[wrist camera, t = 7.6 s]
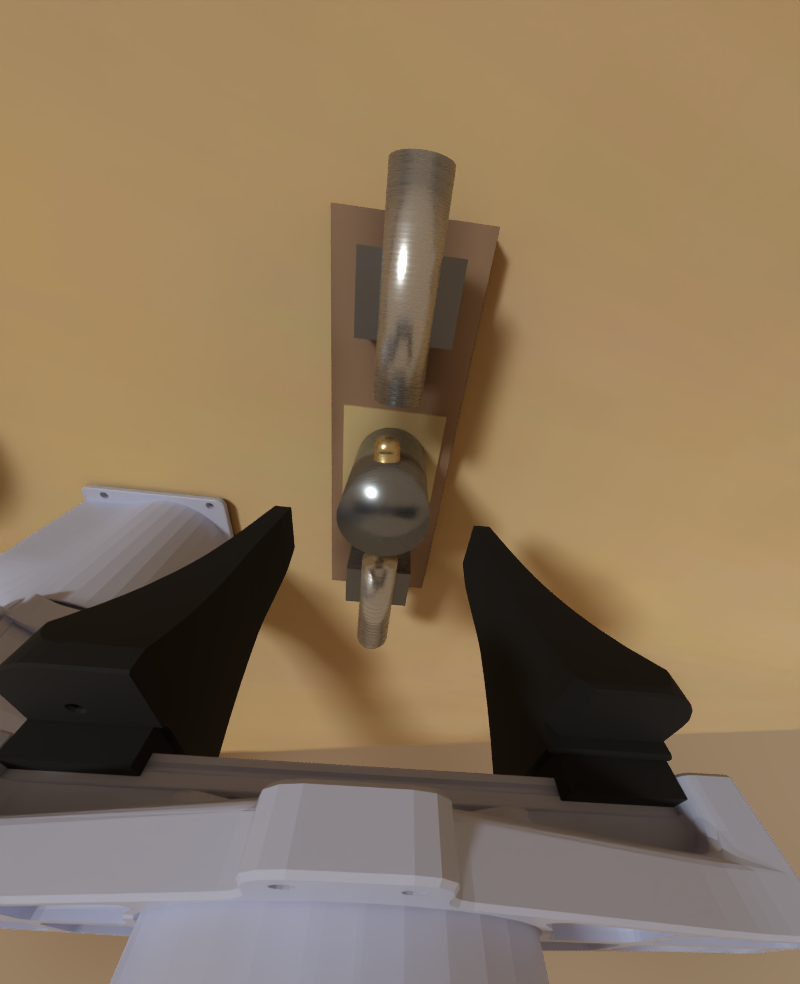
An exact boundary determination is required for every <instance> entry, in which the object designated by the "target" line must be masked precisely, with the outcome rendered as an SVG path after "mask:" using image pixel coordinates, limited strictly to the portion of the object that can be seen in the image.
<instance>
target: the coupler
mask: <svg viewBox="0 0 800 984" xmlns="http://www.w3.org/2000/svg"><path fill="white" fill-rule="evenodd" d="M336 516H337V524H338V527H339V530H340V532H341V534H342V535H343V537H344V538H345V539H346V540H347V541H348V542H349V543H350V544H351V545H352V546H354V547H355V548H357V549H359V550H361V551H363V552H365V553H368V554H372V555H377V556H394V555H399V554H402V553H405V552H408V551H410V550H412V549H413V548H415V547H416V546H417V545H419V544H420V543H421V542H422V540H423V539H424V538H425V536H426V534H427V532H428V529H429V525H430V515H429V502H428V489H427V476H426V464H425V454H424V450H423V448H422V446H421V444H420V442H419V441H418V440H417V439H416V438H415V437H414V436H413V435H412V434H410V433H408V432H407V431H404V430H402V429H398V428H382V429H379V430H376V431H374V432H372V433H371V434H369V435H368V436H367V437H366V438H365V439H364V440H363V441H362V443H361V445H360V447H359V449H358V452H357V455H356V458H355V461H354V463H353V466H352V469H351V472H350V475H349V477H348V480H347V483H346V486H345V489H344V492H343V494H342V497H341V500H340V503H339V506H338V509H337V514H336Z"/></svg>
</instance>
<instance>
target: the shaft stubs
mask: <svg viewBox="0 0 800 984" xmlns="http://www.w3.org/2000/svg"><path fill="white" fill-rule="evenodd" d="M455 171H456V164H455V163H454V161H453V160H451V159H450V158H448V157H446V156H444V155H442V154H439V153H436V152H432V151H428V150H421V149H401V150H397V151H394V152H392V153H391V154H390V155H389V159H388V174H387V190H386V205H385V220H384V235H383V248H382V247H375V246H367V245H360V244H356V277H355V310H354V338H359V339H367V340H375V341H377V342H376V357H375V373H374V388H373V400H374V401H376V402H378V403H380V404H383V405H386V406H391V407H398V408H413V407H417V406H420V405H421V401H422V395H423V388H424V381H425V374H426V367H427V361H428V354H429V347H431V348H439V349H447V350H452V346H453V340H454V335H455V329H456V324H457V319H458V313H459V308H460V302H461V297H462V291H463V286H464V280H465V275H466V269H467V264H468V259H462V258H454V257H447V256H443V253H444V246H445V239H446V232H447V225H448V219H449V212H450V205H451V198H452V192H453V185H454V178H455ZM410 575H411V563H410V551H408V552H405V553H402V554H399V555H394V556H377V555H372V554H368V553H365V552H363V551H361V550H359V549H357V548H355V547H354V546H352V547H351V551H350V556H349V560H348V565H347V574H346V601H357V602H359V617H358V632H357V637H358V640H359V642H360V644H361V645H363V646H364V647H366V648H370V649H374V648H378V647H380V646H381V645H383V644H384V642H385V641H386V638H387V631H388V624H389V618H390V611H391V605H403V606H405V603H406V597H407V592H408V586H409V581H410Z"/></svg>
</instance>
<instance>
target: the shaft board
mask: <svg viewBox="0 0 800 984" xmlns="http://www.w3.org/2000/svg"><path fill="white" fill-rule="evenodd" d="M384 220H385V210H378V209H371V208H365V207H358V206H351V205H344V204H337V203H331V354H332V580H341V581H346V574H347V565H348V560H349V556H350V551H351V547H352V545H351V544H350V543H349V542H348V541H347V540H346V539H345V538H344V537H343V535H342V534H341V532H340V530H339V527H338V524H337V516H336V514H337V509H338V506H339V503H340V500H341V497H342V494H343V492H344V489H345V486H346V483H347V480H348V477H349V475H350V472H351V469H352V466H353V463H354V461H355V458H356V455H357V452H358V449H359V447H360V445H361V443H362V441H363V440H364V439H365V438H366V437H367V436H368V435H369V434H371V433H372V432H374V431H376V430H379V429H382V428H398V429H402V430H404V431H407V432H408V433H410V434H412V435H413V436H414V437H415V438H416V439H417V440H418V441H419V442H420V444H421V446H422V448H423V450H424V454H425V464H426V476H427V489H428V502H429V515H430V525H429V529H428V532H427V534H426V536H425V538H424V539H423V540H422V542H421V543H420V544H419V545H417V546H416V547H415V548H413V549H412V550H410V563H411V575H410V581H409V586H408V587H417V588H422V585H423V580H424V576H425V571H426V566H427V562H428V557H429V553H430V548H431V543H432V539H433V534H434V529H435V525H436V520H437V516H438V511H439V506H440V502H441V497H442V493H443V488H444V483H445V479H446V474H447V469H448V465H449V460H450V456H451V451H452V446H453V442H454V437H455V433H456V428H457V423H458V419H459V414H460V409H461V405H462V400H463V396H464V391H465V386H466V382H467V377H468V372H469V368H470V363H471V359H472V354H473V349H474V345H475V340H476V336H477V331H478V326H479V322H480V317H481V312H482V308H483V303H484V299H485V294H486V289H487V285H488V280H489V276H490V271H491V266H492V262H493V257H494V252H495V248H496V243H497V239H498V234H499V229H500V227H497V226H490V225H483V224H476V223H469V222H462V221H455V220H448V225H447V232H446V239H445V246H444V253H443V256H447V257H454V258H462V259H468V264H467V269H466V275H465V280H464V286H463V291H462V297H461V302H460V308H459V313H458V319H457V324H456V329H455V335H454V340H453V346H452V350H447V349H439V348H431V347H429V354H428V361H427V367H426V374H425V381H424V388H423V395H422V401H421V405H420V406H417V407H413V408H398V407H391V406H386V405H383V404H380V403H378V402H376V401H374V400H373V388H374V373H375V357H376V342H377V341H375V340H367V339H359V338H354V310H355V277H356V244H360V245H367V246H375V247H382V248H383V235H384Z"/></svg>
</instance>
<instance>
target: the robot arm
mask: <svg viewBox="0 0 800 984" xmlns="http://www.w3.org/2000/svg"><path fill="white" fill-rule="evenodd" d="M81 491H82V494H83V496H84V498H85V501H84V502H82V503H81V504H79V505H77V506H76V507H74V508H73V509H71V510H70V511H68V512H66V513H65V514H63V515H62V516H60V517H59V518H57V519H55V520H54V521H52V522H51V523H49V524H48V525H46V526H45V527H43V528H41V529H40V530H38V531H37V532H35V533H34V534H32V535H30V536H29V537H27V538H26V539H24V540H23V541H21V542H19V543H18V544H16V545H15V546H13V547H12V548H10V549H8V550H7V551H5V552H4V553H2V554H1V555H0V928H7V929H23V930H38V931H54V932H69V933H85V934H100V935H117V936H130V938H129V940H128V942H127V944H126V947H125V949H124V951H123V954H122V956H121V958H120V961H119V963H118V966H117V968H116V970H115V972H114V975H113V977H112V979H111V982H110V984H549V981H548V976H547V971H546V966H545V962H544V957H543V952H542V951H644V952H647V951H648V952H649V951H651V952H652V951H653V952H709V953H711V952H712V953H742V954H752V953H763V952H771V951H772V952H773V951H782V950H792V949H800V879H799V877H798V876H797V875H796V873H795V872H794V870H793V869H792V867H791V866H790V865H789V863H788V861H787V860H786V858H785V857H784V855H783V854H782V852H781V851H780V849H779V848H778V847H777V845H776V844H775V842H774V841H773V839H772V838H771V836H770V835H769V833H768V832H767V830H766V829H765V827H764V826H763V824H762V823H761V821H760V820H759V819H758V817H757V815H756V814H755V812H754V811H753V810H752V808H751V807H750V805H749V804H748V802H747V801H746V799H745V798H744V796H743V795H742V793H741V792H740V790H739V789H738V787H737V786H736V784H735V783H734V781H733V780H732V779H731V777H729V776H727V775H718V774H702V773H682V774H677V775H674V774H673V772H672V770H671V768H670V766H669V765H668V763H667V761H670V760H671V759H672V756H671V753H670V752H669V750H668V748H667V747H666V745H665V743H664V741H665V740H666V739H667V738H669V737H670V736H671V735H673V734H674V733H675V732H676V731H678V730H679V729H680V728H682V727H683V726H684V725H685V724H686V723H687V722H688V721H689V719H690V717H691V714H692V707H691V704H690V702H689V701H688V700H687V698H686V697H685V695H684V694H683V692H682V691H681V690H680V688H679V687H678V685H677V684H676V682H675V681H674V680H673V678H672V677H671V675H670V674H669V673H668V671H667V670H665V669H663V668H662V667H660V666H658V665H656V664H655V663H653V662H651V661H650V660H648V659H646V658H644V657H643V656H641V655H639V654H637V653H636V652H634V651H632V650H630V649H629V648H627V647H625V646H624V645H622V644H621V643H619V642H618V641H616V640H615V639H613V638H611V637H610V636H608V635H607V634H605V633H604V632H602V631H601V630H599V629H598V628H597V627H595V626H594V625H592V624H591V623H589V622H588V621H587V620H585V619H584V618H583V617H581V616H580V615H579V614H577V613H576V612H575V611H573V610H572V609H571V608H570V607H568V606H567V605H566V604H565V603H563V602H562V601H561V600H560V599H559V598H557V597H556V596H555V595H554V594H553V593H552V592H550V591H549V590H548V589H547V588H546V587H545V586H544V585H543V584H542V583H541V582H540V581H539V580H537V579H536V578H535V577H534V576H533V575H532V574H531V573H530V572H529V571H528V570H527V569H526V568H525V567H524V565H523V564H522V563H521V562H520V561H519V560H518V559H517V558H516V557H515V556H514V555H513V554H512V552H511V551H510V550H509V549H508V548H507V547H506V546H505V544H504V543H503V542H502V541H501V540H500V539H499V537H498V536H497V535H496V534H495V533H494V532H493V531H492V530H491V528H490V527H484V526H474V527H473V531H472V534H471V538H470V541H469V544H468V548H467V551H466V554H465V558H464V561H463V569H464V579H465V587H466V591H467V596H468V600H469V604H470V608H471V612H472V616H473V620H474V624H475V629H476V633H477V637H478V641H479V646H480V652H481V659H482V666H483V673H484V681H485V689H486V698H487V707H488V717H489V727H490V737H491V750H492V762H493V774H481V773H465V772H449V771H433V770H416V769H400V768H384V767H367V766H351V765H335V764H319V763H302V762H287V761H286V762H285V761H269V760H253V759H236V758H222V757H219V754H220V750H221V747H222V743H223V740H224V737H225V733H226V730H227V726H228V723H229V719H230V716H231V713H232V710H233V707H234V703H235V700H236V697H237V694H238V691H239V687H240V684H241V681H242V678H243V675H244V672H245V669H246V666H247V663H248V660H249V658H250V655H251V652H252V649H253V646H254V644H255V641H256V638H257V635H258V632H259V630H260V628H261V625H262V623H263V621H264V619H265V616H266V614H267V612H268V610H269V608H270V606H271V604H272V602H273V600H274V598H275V595H276V593H277V591H278V589H279V587H280V585H281V583H282V581H283V579H284V576H285V574H286V572H287V570H288V567H289V564H290V561H291V557H292V554H293V551H294V548H295V546H294V535H293V523H292V512H291V507H281V506H274V507H273V508H272V509H270V510H269V511H268V512H266V513H265V514H264V515H262V516H261V517H260V518H258V519H257V520H256V521H254V522H253V523H252V524H250V525H249V526H248V527H246V528H245V529H244V530H242V531H241V532H239V533H238V534H237V535H235V536H234V535H233V530H232V525H231V521H230V516H229V512H228V507H227V504H226V502H225V501H224V500H223V499H221V498H214V497H205V496H195V495H185V494H175V493H165V492H155V491H145V490H135V489H125V488H116V487H106V486H96V485H87V486H85V487H84V488H82V490H81ZM209 503H211V504H212V505H213V506H212V505H210V504H209Z"/></svg>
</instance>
